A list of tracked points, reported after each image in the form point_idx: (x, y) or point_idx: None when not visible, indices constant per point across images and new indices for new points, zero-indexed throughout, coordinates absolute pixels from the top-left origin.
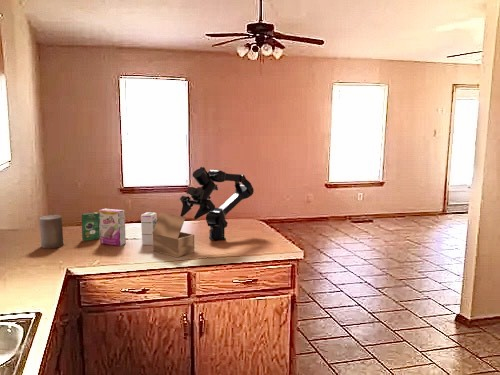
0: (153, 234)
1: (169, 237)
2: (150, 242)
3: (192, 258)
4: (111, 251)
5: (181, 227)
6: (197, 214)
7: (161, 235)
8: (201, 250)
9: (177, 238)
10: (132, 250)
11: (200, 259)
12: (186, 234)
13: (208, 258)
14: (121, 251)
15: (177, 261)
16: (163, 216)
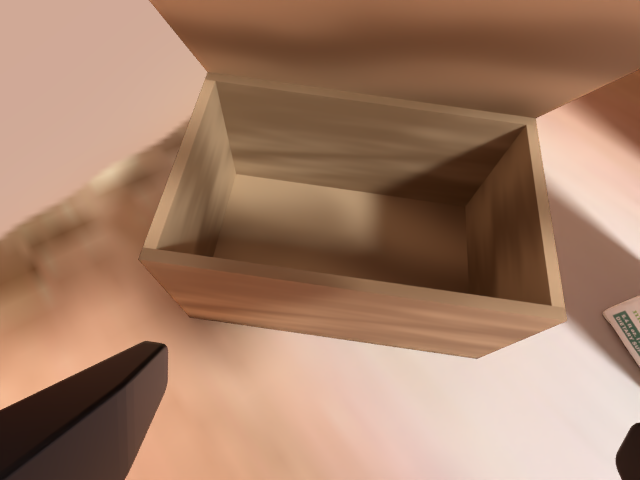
0: (523, 123)
1: (309, 87)
2: (632, 298)
3: (130, 199)
4: (631, 98)
5: (163, 11)
6: (21, 407)
7: (414, 99)
8: (166, 401)
9: (206, 67)
10: (572, 157)
11: (66, 207)
12: (260, 268)
13: (16, 249)
14: (595, 119)
15: (188, 120)
16: (597, 10)
